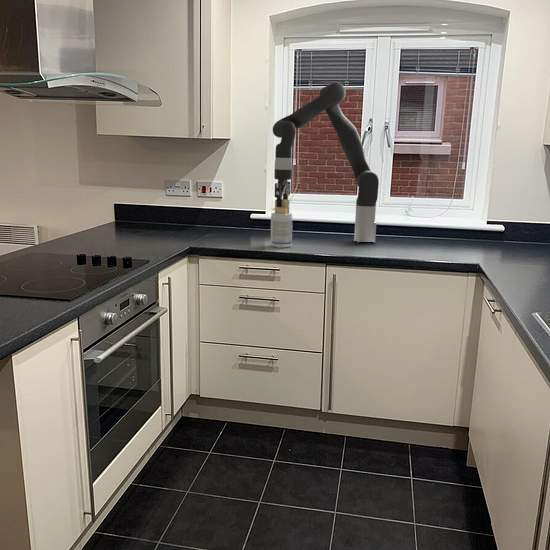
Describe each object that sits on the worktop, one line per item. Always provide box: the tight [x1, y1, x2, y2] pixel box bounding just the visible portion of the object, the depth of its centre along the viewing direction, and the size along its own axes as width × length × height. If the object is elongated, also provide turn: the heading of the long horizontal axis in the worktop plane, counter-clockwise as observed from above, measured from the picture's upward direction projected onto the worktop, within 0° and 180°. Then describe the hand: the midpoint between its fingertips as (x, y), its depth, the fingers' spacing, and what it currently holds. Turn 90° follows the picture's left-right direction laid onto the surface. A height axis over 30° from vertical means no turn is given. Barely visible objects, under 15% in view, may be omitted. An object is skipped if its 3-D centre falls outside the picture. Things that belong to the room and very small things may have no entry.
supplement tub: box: [270, 212, 293, 249], centre depth 259 cm, size 10×10×15 cm
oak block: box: [274, 198, 290, 214], centre depth 257 cm, size 5×5×6 cm
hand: (282, 206), depth 257 cm, fingers open, 7 cm apart
